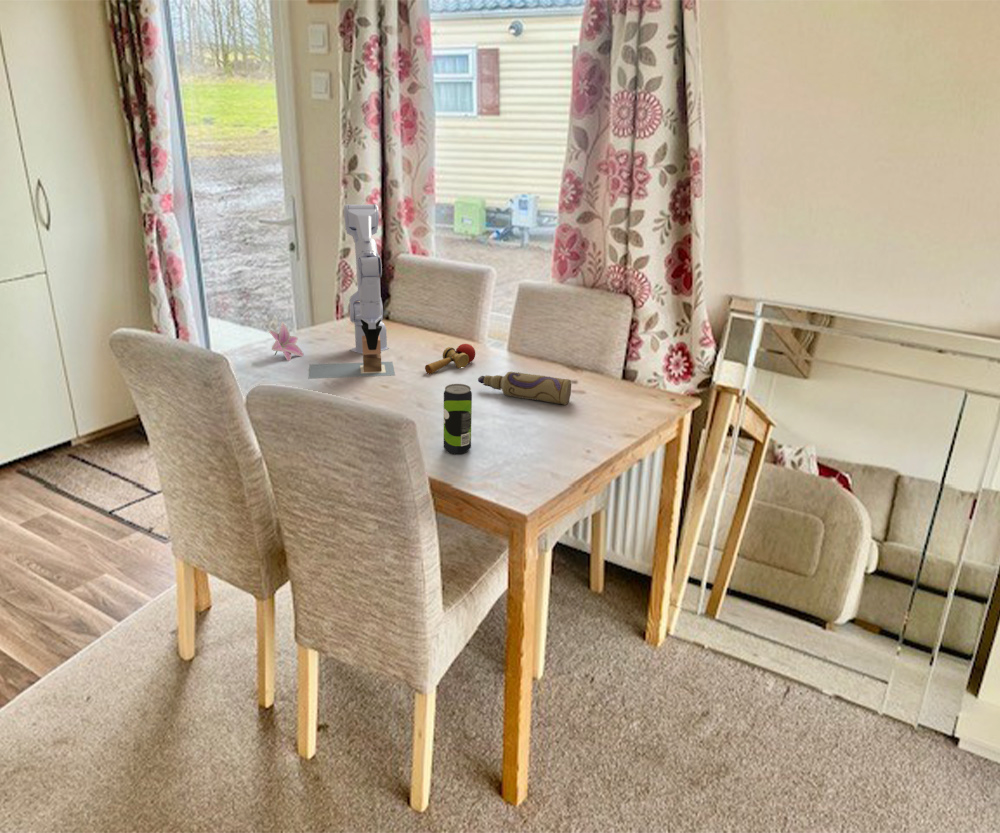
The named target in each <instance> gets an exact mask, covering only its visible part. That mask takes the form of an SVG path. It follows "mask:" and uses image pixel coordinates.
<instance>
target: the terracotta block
mask: <svg viewBox="0 0 1000 833" xmlns="http://www.w3.org/2000/svg"><path fill="white" fill-rule="evenodd" d="M362 349H363V354H381V355H382V351H381V342H380V335H379V337H378V343H377V348H376V350H369V349H368V345H367V340H366V336H362ZM363 354H362V355H363Z"/></svg>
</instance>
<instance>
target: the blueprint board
mask: <svg viewBox="0 0 1000 833" xmlns="http://www.w3.org/2000/svg"><path fill="white" fill-rule="evenodd" d="M308 368H309V369H308V379H310V380H311V379H334V378H337V379H338V378H354V377H355V378H358V377H361V378H362V377H386V376H388V377H389V376H396V374H395V368H394V362H393V361H381V368H382V371H380V372H364V367H363V362H346V363H345V362H344V363H343V362H340V363H338V362H337V363H318V364H317V363H315V364H314V363H313V364H309V367H308Z"/></svg>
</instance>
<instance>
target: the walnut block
mask: <svg viewBox="0 0 1000 833" xmlns="http://www.w3.org/2000/svg"><path fill="white" fill-rule="evenodd" d="M381 362H382V353H381V354H362V363H363V367H364V372H380V371H382V368H381Z"/></svg>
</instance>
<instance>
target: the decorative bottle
mask: <svg viewBox="0 0 1000 833" xmlns="http://www.w3.org/2000/svg"><path fill="white" fill-rule="evenodd" d="M477 382H478V383H479V384H482V386H485V387H490V388H492V389H493V390H499V391H502V394H503V395H505V396H506V395H507V397H512V396H513V398H519V399H524V398H525V400H526V399H527V400H533V401H538V400H540V401H539V402H547V403H551V404H561V405H564V406H566V405H568V404H569V402H570V398H571V395H572V381H571V379H569V378H566V379H565V378H560V377H554V376H546V375H540V374H531V373H524V372H518V371H517V372H515V371H508V372H506V374H505V375H500V374H499V375H498V374H497V375H480V376H479V377H478V378H477Z"/></svg>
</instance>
